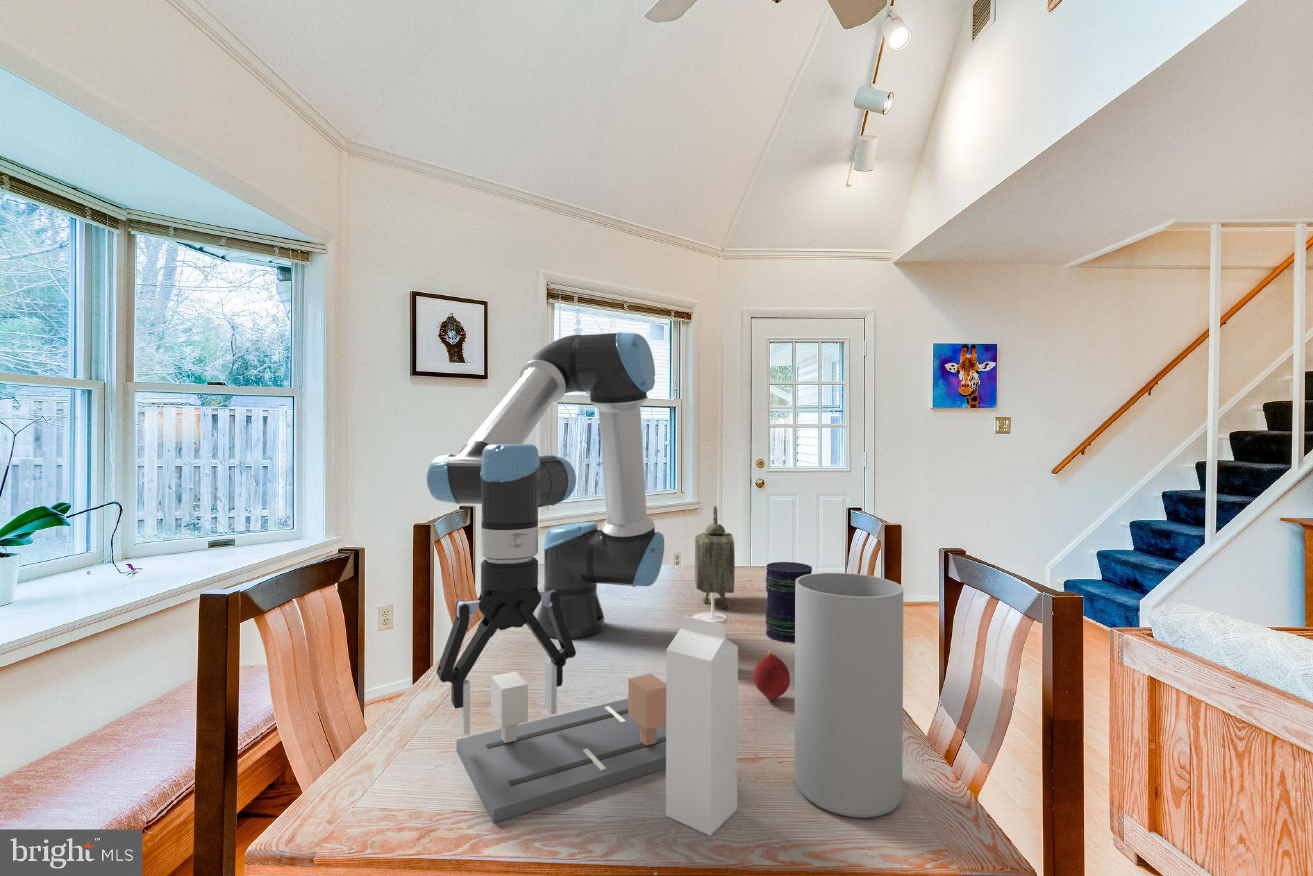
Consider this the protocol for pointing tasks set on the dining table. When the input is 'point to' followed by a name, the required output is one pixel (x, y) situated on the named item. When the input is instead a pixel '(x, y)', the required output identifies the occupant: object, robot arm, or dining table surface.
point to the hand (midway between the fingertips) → (508, 720)
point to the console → (559, 759)
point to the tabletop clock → (715, 561)
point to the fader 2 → (647, 705)
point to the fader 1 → (509, 703)
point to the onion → (771, 676)
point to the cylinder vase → (849, 692)
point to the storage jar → (782, 599)
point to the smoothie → (711, 614)
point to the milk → (701, 725)
